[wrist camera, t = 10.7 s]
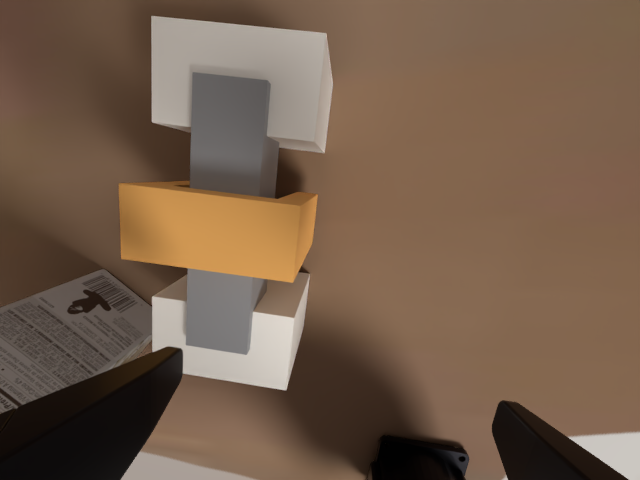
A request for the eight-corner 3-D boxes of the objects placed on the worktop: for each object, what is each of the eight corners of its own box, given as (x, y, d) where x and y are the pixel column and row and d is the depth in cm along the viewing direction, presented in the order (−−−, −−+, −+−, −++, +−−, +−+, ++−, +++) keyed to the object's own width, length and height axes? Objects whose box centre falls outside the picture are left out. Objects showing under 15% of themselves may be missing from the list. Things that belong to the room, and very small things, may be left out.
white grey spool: (219, 71, 18) (143, 9, 11) (332, 83, 18) (325, 26, 11) (208, 311, 22) (146, 374, 15) (303, 326, 21) (284, 397, 14)
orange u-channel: (317, 194, 18) (300, 205, 11) (312, 242, 18) (293, 282, 12) (203, 180, 18) (118, 183, 11) (202, 228, 19) (121, 258, 12)
